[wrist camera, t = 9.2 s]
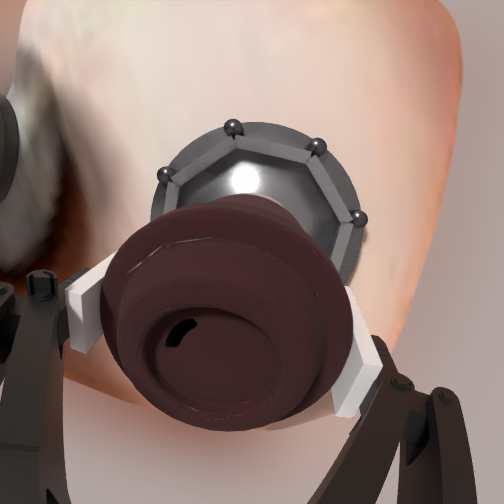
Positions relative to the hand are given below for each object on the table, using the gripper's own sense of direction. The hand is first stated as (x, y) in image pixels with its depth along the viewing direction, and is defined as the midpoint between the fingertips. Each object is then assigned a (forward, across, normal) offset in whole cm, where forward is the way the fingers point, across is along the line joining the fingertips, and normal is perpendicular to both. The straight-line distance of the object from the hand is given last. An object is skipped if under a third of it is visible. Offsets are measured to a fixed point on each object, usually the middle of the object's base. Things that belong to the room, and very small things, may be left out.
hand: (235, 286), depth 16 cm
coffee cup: (+8, 0, 0) cm, 8 cm away
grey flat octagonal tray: (+12, 0, 0) cm, 12 cm away
